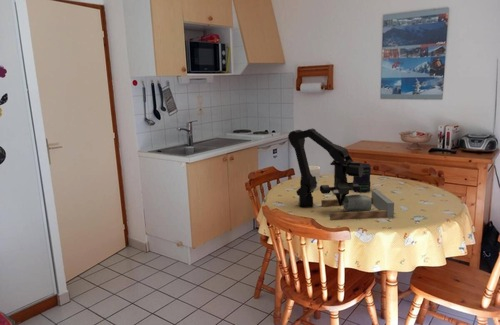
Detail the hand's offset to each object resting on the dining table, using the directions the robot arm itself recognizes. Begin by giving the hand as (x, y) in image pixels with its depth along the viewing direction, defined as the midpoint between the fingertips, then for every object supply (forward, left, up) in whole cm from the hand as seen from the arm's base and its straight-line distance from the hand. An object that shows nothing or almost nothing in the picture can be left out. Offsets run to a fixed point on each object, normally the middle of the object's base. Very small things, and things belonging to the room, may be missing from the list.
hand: (340, 205), depth 186 cm
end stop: (+21, 0, -3) cm, 21 cm away
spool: (+8, 0, -3) cm, 9 cm away
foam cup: (-6, +42, -3) cm, 43 cm away
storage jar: (+21, +34, -3) cm, 40 cm away
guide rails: (+6, 0, -3) cm, 7 cm away
